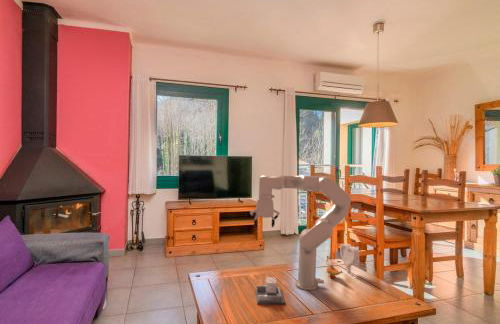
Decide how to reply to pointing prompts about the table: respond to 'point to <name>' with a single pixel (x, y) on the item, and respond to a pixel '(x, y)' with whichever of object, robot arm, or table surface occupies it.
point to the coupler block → (270, 286)
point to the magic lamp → (332, 270)
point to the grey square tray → (269, 296)
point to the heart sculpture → (349, 257)
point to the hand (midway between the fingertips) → (264, 226)
